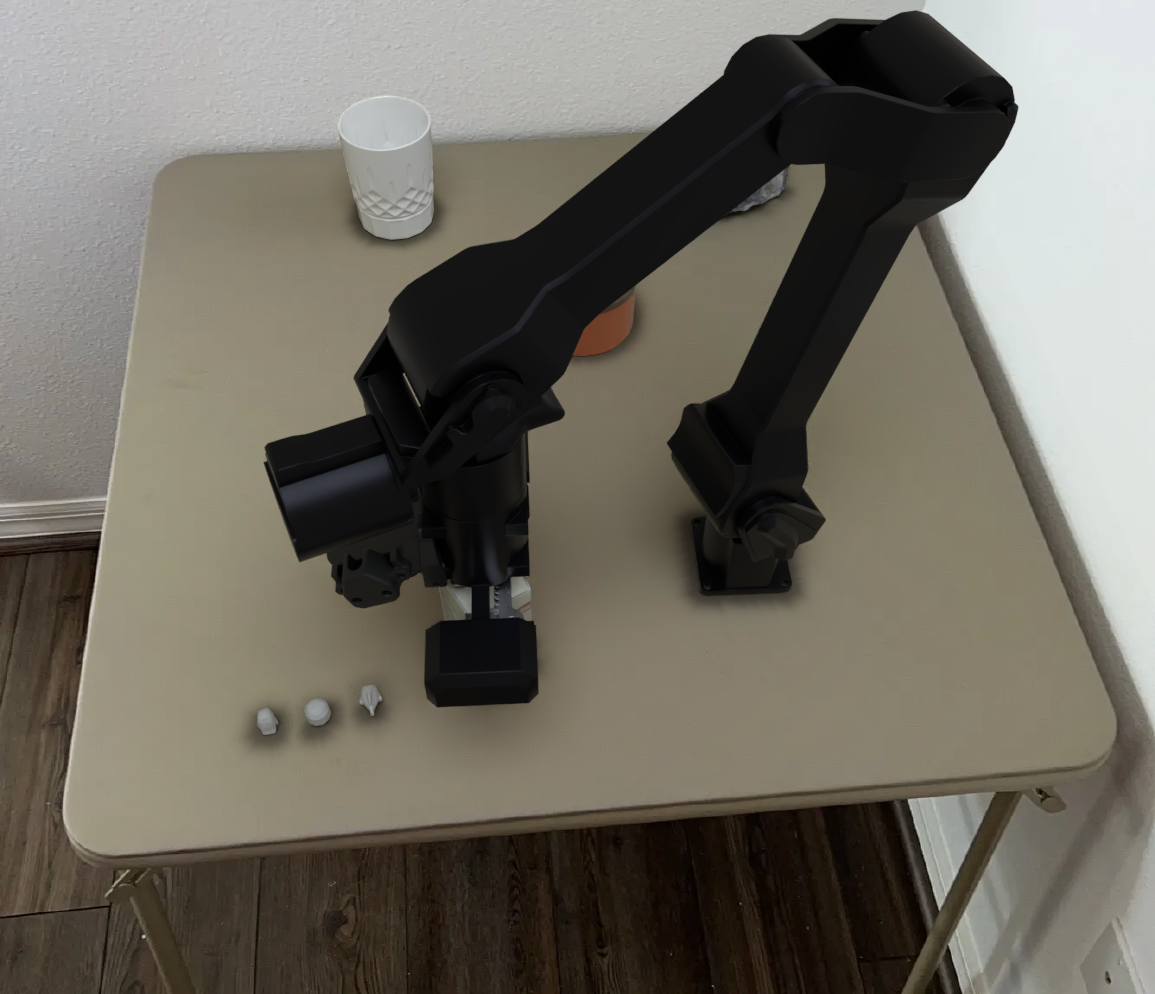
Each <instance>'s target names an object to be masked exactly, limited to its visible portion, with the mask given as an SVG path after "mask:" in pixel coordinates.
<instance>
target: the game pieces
mask: <svg viewBox="0 0 1155 994" xmlns="http://www.w3.org/2000/svg"><path fill="white" fill-rule="evenodd" d="M382 701H383V697H382V696H381V694H380V692H379V689H378V687H377V686H376V684H374V683H373V684H368V685H364V686H362V689H361V693H360V697H359V700H358V703H359V705H360V706H365V708H366V709H367V710H368V711H369V714H370V716H371V717H374V716H375V714H376V713H375V710H376V708H377V705H378V703H380V702H382ZM331 715H332V711H331V709H330V706H329V704H328V702H327V701H326V700H325V699H324V698H318V697H316V698H313V699H311V700H309V701H308V702H307V703H306V704H305V706H304V716H305V717H306V720H307V722H308V723H309V724H310V725H312V726H314V727H318V726H324V725H325V724H326V723H328V721H329V720H330V719H331ZM277 725H279V721H278V719H277V718H276V717H275V714H274V712H273V710H272V709H271V708H268V707H262V709H259V711H258V712H257V718H256V726H257V728H259V729H260V732H261V733H262V735H264V736H267V735H268V736H269V735H273V734H275V733H277Z"/></svg>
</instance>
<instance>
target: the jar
mask: <svg viewBox="0 0 1155 994" xmlns="http://www.w3.org/2000/svg"><path fill="white" fill-rule="evenodd" d="M637 286H638V284H637V285H636V286H634V287H633V288H632V289H630V290H629V291H628V292H627V293H625V294H624V295H623V296H621V297H620V298H619V299H618V300H616V301H615V302H614V303H612V304H611V305H610V306H609V307H607V308H606V309H605V310H603V311H602V312H601V313H600V314H599V315H598V316H597V317H596V318H595V319H594V320H593V321H592V322H591V323H590V324H589V325H588V326H587V327H586V328H585V329H584V331H583V333H582V335H581V338H580V340H579V342H578V344H577V347H576V349H575V351H574V354H573V356H574V357H589V356H590V357H591V356H595V355H600V354H604V353H607V352H609V351H611V350H613V349H615V348H616V347H618V346H620V345H621V344H622V343H623V342H624V341H625V340H626V338H627V337H628V336H629V334H630V333H631V331H632V328H633V326H634V325H633V324H634V318H635V317H634V315H635V303H636V290H637V289H636V288H637ZM573 356H572V357H573Z"/></svg>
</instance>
